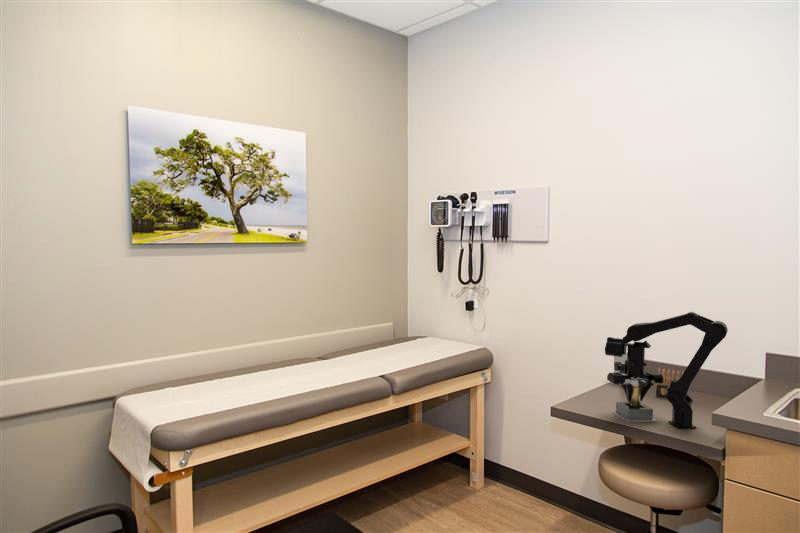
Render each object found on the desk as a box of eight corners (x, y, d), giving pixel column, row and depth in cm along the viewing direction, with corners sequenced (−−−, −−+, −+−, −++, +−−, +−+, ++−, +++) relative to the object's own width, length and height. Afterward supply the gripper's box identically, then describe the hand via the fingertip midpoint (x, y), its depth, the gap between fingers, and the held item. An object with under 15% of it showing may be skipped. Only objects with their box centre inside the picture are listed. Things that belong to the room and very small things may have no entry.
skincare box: (638, 385, 235) (639, 351, 235) (628, 387, 232) (629, 352, 231) (621, 381, 243) (622, 347, 242) (612, 383, 239) (613, 349, 239)
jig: (656, 421, 188) (657, 409, 188) (627, 422, 187) (627, 410, 186) (639, 411, 199) (640, 400, 198) (611, 412, 198) (612, 401, 197)
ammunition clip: (655, 396, 219) (656, 368, 218) (655, 395, 220) (656, 367, 220) (684, 400, 214) (686, 371, 213) (684, 399, 216) (685, 370, 215)
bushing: (642, 406, 191) (643, 387, 190) (632, 407, 190) (632, 387, 190) (636, 403, 195) (637, 384, 194) (626, 403, 194) (626, 384, 194)
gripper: (647, 353, 201) (646, 394, 201) (600, 354, 199) (599, 395, 199) (665, 360, 189) (663, 403, 190) (615, 360, 188) (614, 404, 188)
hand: (634, 401), depth 192 cm, fingers closed on bushing, 4 cm apart
